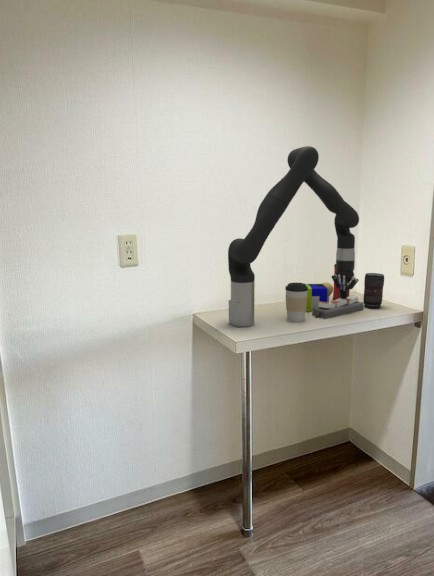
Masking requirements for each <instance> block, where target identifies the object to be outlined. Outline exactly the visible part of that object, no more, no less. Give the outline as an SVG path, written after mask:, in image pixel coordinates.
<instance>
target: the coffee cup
mask: <svg viewBox="0 0 434 576" xmlns="http://www.w3.org/2000/svg"><path fill="white" fill-rule="evenodd" d="M306 284H307V283H303V282H289V283H288V284H287V285H285V287H284V290H285V309H286V320H287V321H289V322H294V323H296V322H297V323H298V322H300V323H302V322H304V321H305V318H306V311H305V310H306V304H307V292H308V287H307V286H306Z"/></svg>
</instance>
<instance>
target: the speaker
mask: <svg viewBox="0 0 434 576" xmlns="http://www.w3.org/2000/svg"><path fill="white" fill-rule="evenodd" d="M333 267H334V269H333V271H334V273H333V275H335V274H336V271H337V269H336V263H335V264H334V266H333ZM350 290H351V289H350ZM350 290H348V297H349V296H350V292H351V291H350ZM339 298H341V296H340V289H339V288H337V287H336V285H335V283H334V282H333V292H332V300H336V299H339Z"/></svg>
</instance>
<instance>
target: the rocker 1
mask: <svg viewBox="0 0 434 576" xmlns="http://www.w3.org/2000/svg"><path fill="white" fill-rule="evenodd" d="M318 306H319V307H323V308H335V304H332V303H331V302H329V303H327V302H321V301H320V302H319V305H318Z"/></svg>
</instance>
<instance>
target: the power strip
mask: <svg viewBox="0 0 434 576" xmlns="http://www.w3.org/2000/svg"><path fill="white" fill-rule="evenodd" d="M359 311H360V312H361V311H364V301H363V302H362V301H359V300H358V301H357V302H355V303H353V304H350V305H348V304H345V305H342V306H340V307H335V308H323V307H319V306H318V307H314V308H313V311H311V313H312V315H311V316H314V317H315V318H321V319H324V320H326V319H330V318H335V317H340V316H342V315H343V316H344V315H346V314H352V313H356V312H359ZM339 315H340V316H339Z"/></svg>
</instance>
